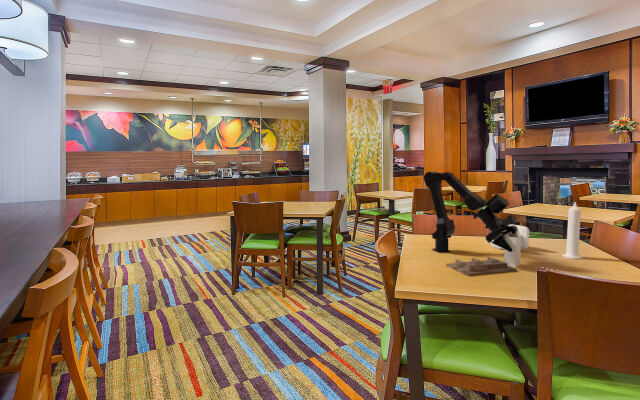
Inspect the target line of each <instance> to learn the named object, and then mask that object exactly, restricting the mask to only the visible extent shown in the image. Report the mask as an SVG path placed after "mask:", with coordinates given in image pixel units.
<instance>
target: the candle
mask: <svg viewBox="0 0 640 400" xmlns="http://www.w3.org/2000/svg"><path fill="white" fill-rule="evenodd" d="M567 217H568V218H567V234H566V249H565V250H566V251H565V253H563V254H562V257H563V258H567V259H571V260H581V259H582V258H583V257H582V255H579V252H580V251H579V249H580V248H579V247H580V236H581V235H580V233H581V219H582V218H581V217H582V209H581V208H579V206H578V205H577V201H575V202H574V203H573V205H572V206H571V207H570V208H568V216H567Z"/></svg>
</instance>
